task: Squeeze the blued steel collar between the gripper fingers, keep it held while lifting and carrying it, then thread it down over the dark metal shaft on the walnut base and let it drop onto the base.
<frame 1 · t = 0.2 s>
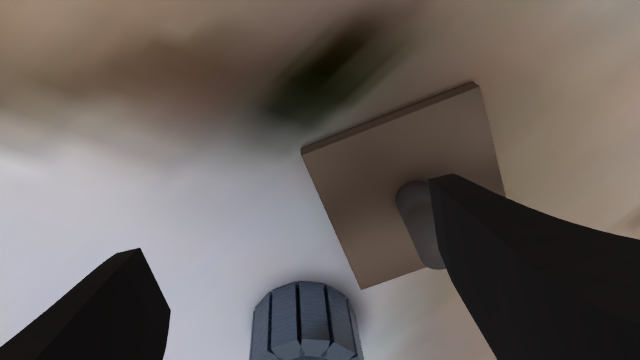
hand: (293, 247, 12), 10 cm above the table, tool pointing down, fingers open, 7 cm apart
shaft base: (410, 190, 22), on the table
collar: (303, 323, 26), on the table
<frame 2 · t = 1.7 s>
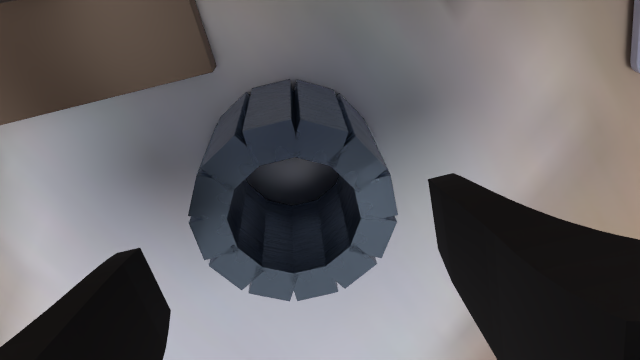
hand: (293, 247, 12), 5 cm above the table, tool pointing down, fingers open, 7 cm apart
collar: (292, 159, 16), on the table
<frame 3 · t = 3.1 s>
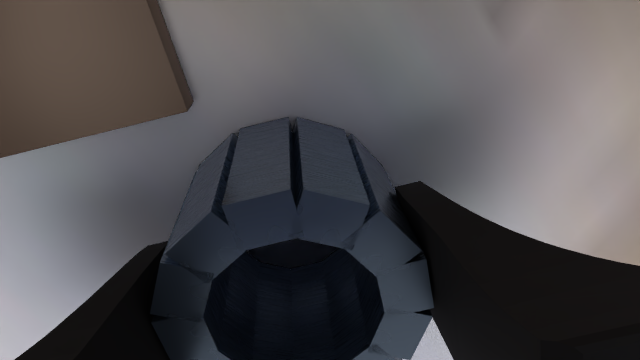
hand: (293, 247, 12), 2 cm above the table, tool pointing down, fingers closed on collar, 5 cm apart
collar: (291, 214, 13), on the table, touching gripper
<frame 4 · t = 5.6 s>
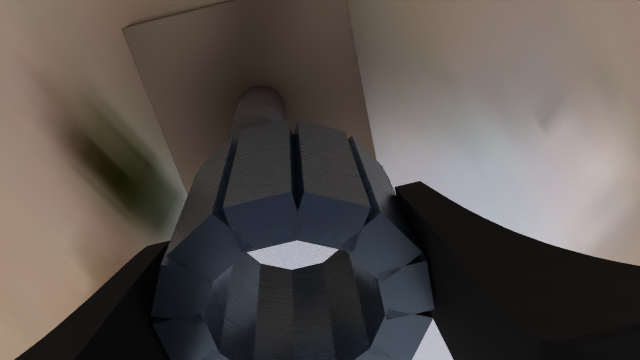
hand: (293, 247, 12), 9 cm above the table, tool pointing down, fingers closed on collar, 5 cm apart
shaft base: (262, 102, 19), on the table
collar: (292, 216, 13), point 7 cm above the table, touching gripper
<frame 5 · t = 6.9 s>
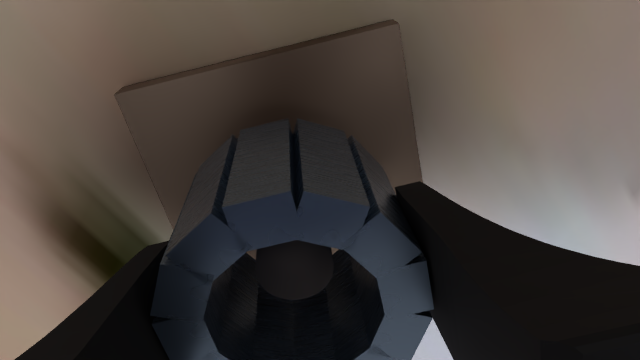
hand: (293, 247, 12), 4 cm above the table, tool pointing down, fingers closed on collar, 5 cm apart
shaft base: (291, 175, 15), on the table
collar: (291, 216, 13), point 3 cm above the table, touching gripper
when the fingers open (3 cm above the table, at t = 8.1 s): collar stays where it is, resting on shaft base.
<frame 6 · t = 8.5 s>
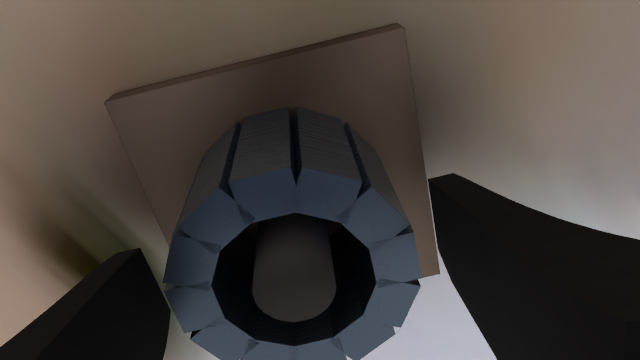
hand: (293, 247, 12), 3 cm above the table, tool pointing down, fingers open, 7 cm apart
shaft base: (290, 185, 15), on the table
collar: (291, 198, 14), point 1 cm above the table, touching shaft base
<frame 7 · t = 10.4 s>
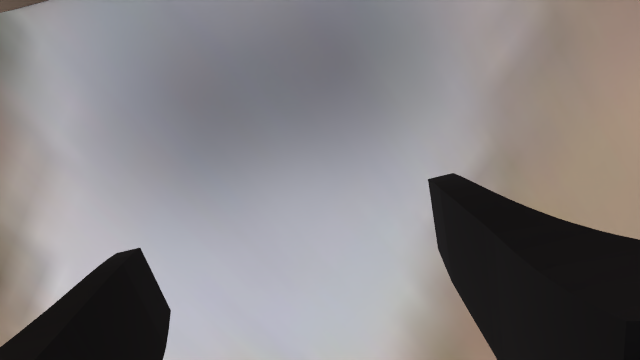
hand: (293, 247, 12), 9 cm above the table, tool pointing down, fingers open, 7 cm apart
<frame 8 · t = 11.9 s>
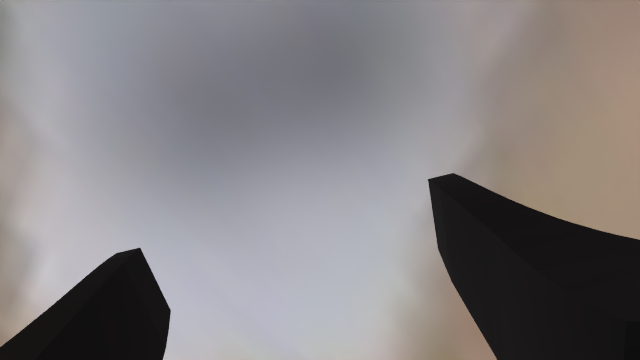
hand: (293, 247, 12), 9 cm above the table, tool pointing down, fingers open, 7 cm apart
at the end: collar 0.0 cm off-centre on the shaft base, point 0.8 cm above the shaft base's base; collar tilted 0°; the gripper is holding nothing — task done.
